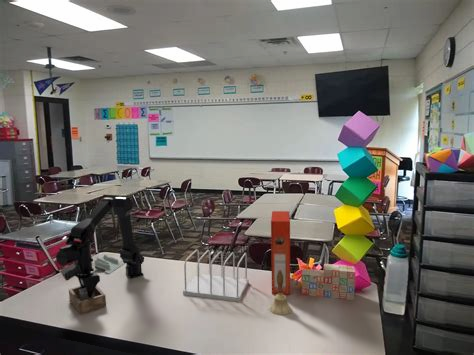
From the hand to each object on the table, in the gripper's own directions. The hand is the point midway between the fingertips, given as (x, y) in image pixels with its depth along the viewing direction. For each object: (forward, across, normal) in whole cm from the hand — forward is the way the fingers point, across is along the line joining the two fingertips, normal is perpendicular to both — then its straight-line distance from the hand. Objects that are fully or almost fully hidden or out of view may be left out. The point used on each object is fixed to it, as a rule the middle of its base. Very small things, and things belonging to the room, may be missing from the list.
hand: (86, 293), depth 140 cm
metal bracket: (+5, -33, +20) cm, 38 cm away
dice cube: (+4, 0, 0) cm, 4 cm away
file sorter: (+5, +24, +48) cm, 54 cm away
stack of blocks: (+5, +59, +80) cm, 100 cm away
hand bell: (+5, +55, +56) cm, 79 cm away
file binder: (+5, +41, +71) cm, 82 cm away
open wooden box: (+5, 0, 0) cm, 5 cm away
